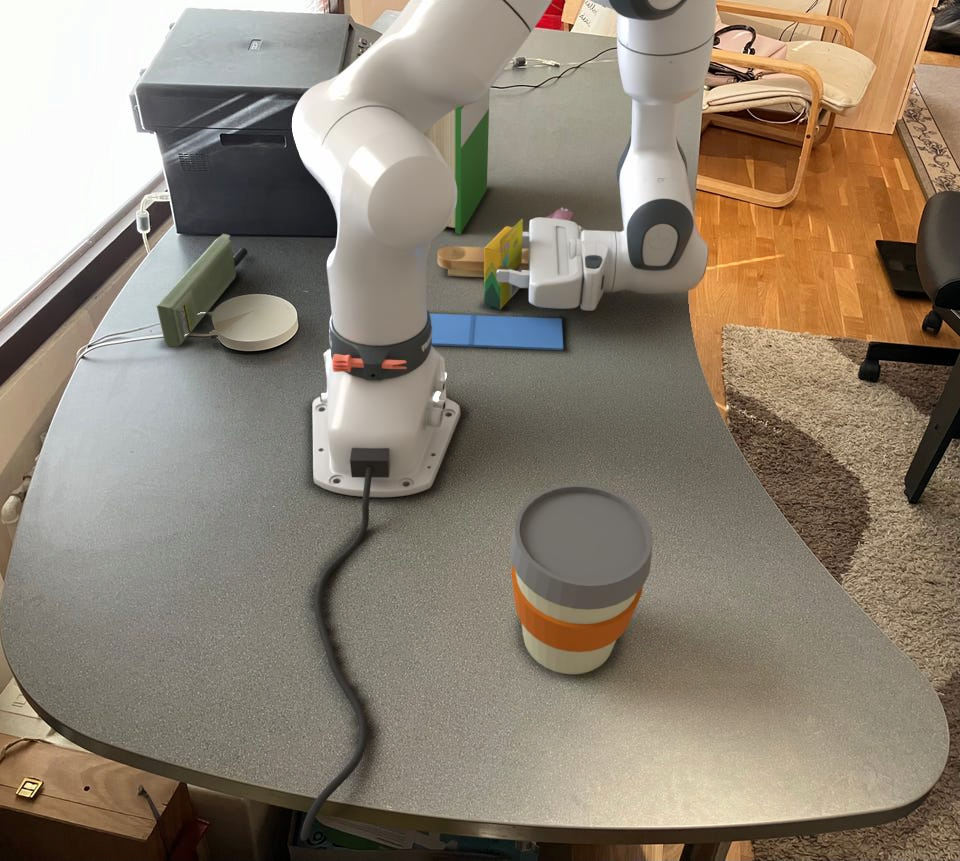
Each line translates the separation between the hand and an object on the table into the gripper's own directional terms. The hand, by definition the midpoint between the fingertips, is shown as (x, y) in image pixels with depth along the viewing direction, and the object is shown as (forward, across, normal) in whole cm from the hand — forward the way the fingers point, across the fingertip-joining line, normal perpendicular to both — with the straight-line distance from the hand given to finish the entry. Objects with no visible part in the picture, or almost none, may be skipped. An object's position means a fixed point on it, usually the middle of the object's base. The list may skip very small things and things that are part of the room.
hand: (497, 258), depth 127 cm
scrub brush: (+1, -8, +7) cm, 10 cm away
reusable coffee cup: (-9, +61, +7) cm, 62 cm away
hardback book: (+8, -29, +7) cm, 31 cm away
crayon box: (-1, 0, +7) cm, 7 cm away
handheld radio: (+43, +4, +7) cm, 43 cm away
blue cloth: (0, +9, +7) cm, 12 cm away
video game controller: (-9, -17, +7) cm, 20 cm away
